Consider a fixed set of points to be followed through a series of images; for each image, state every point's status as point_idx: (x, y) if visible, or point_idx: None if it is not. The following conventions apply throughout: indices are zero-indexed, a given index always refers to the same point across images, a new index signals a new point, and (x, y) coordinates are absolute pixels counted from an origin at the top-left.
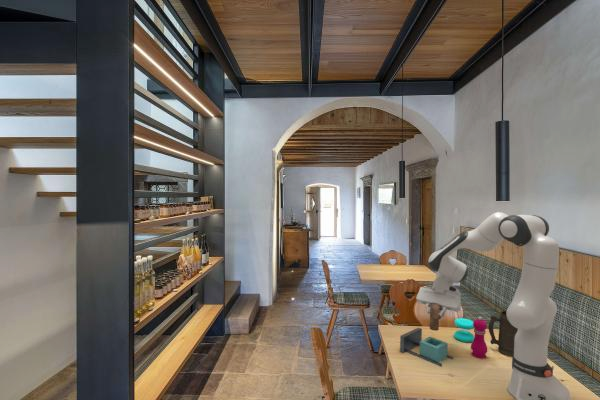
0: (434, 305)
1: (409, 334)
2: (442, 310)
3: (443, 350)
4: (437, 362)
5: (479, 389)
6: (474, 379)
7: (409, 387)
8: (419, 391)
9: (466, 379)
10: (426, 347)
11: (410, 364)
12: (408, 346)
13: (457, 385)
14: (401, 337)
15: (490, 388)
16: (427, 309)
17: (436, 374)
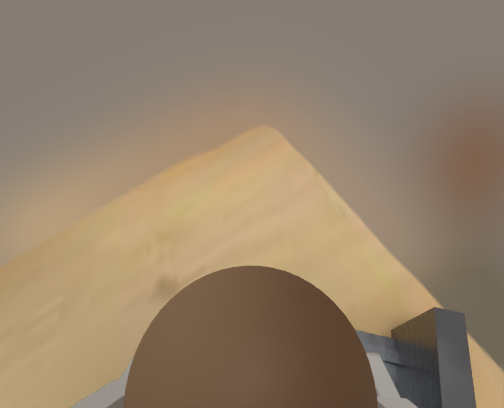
0: (231, 271)
1: (441, 382)
2: (101, 401)
3: None
4: None
5: (70, 252)
6: (78, 313)
7: (264, 143)
8: (235, 142)
9: (108, 292)
10: None
11: (323, 267)
12: (405, 376)
13: (140, 231)
14: (449, 313)
15: (29, 282)
16: (386, 379)
17: (215, 256)
